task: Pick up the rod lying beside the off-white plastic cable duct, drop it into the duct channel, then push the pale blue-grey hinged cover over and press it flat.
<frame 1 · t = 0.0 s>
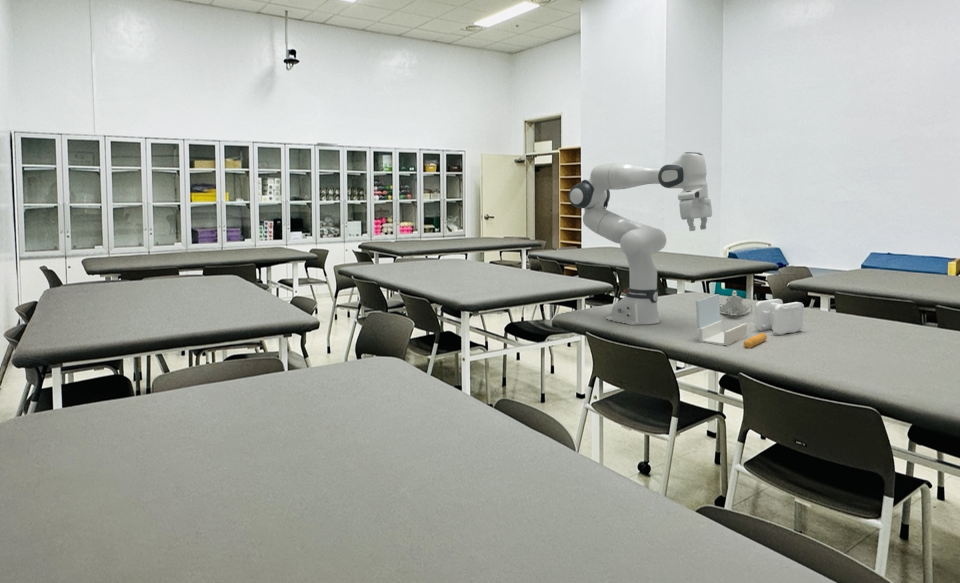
hand: (697, 230, 245), 39 cm above the table, tool pointing down, fingers open, 8 cm apart
duct: (723, 339, 233), on the table
skeletal model: (733, 315, 276), on the table
rod: (755, 344, 225), on the table
cable organizer: (778, 332, 243), on the table
cover: (708, 310, 235), point 10 cm above the table, hinge at 95.0°
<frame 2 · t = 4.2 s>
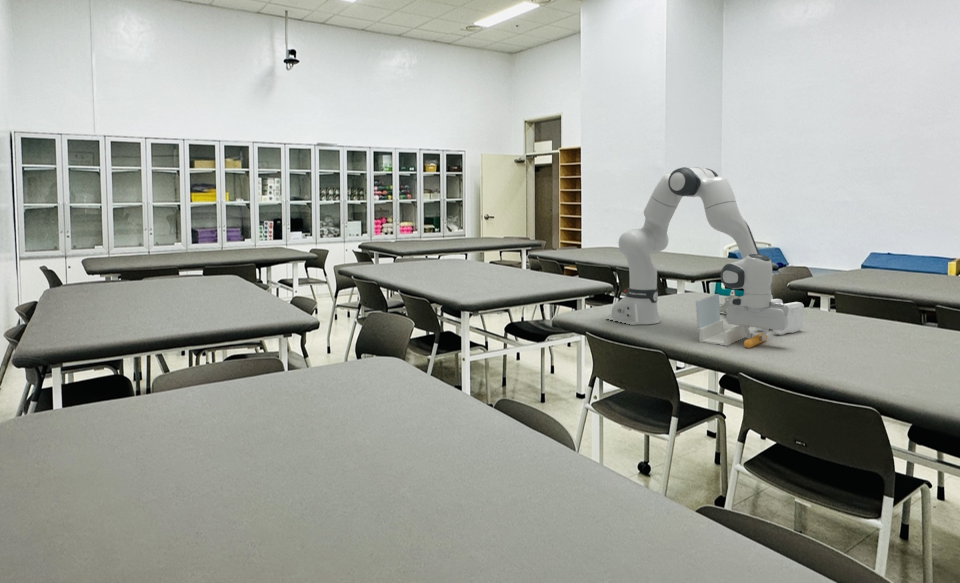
hand: (755, 339, 225), 2 cm above the table, tool pointing down, fingers closed on rod, 3 cm apart
rod: (755, 344, 225), on the table, touching gripper
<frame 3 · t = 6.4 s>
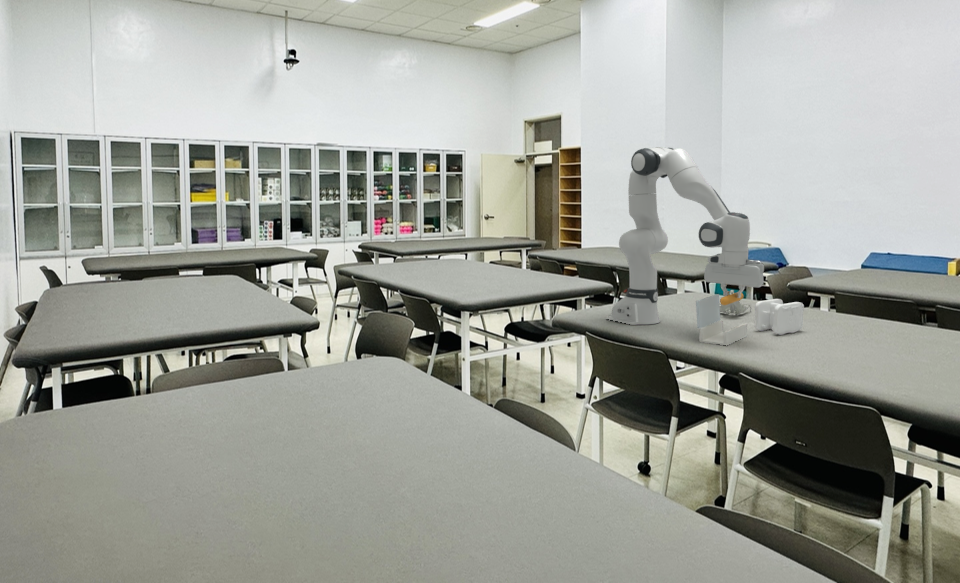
hand: (732, 296, 229), 16 cm above the table, tool pointing down, fingers closed on rod, 3 cm apart
rod: (731, 302, 229), point 14 cm above the table, touching gripper
everything else where it was.
when the fingers open (7 cm above the table, at t = 8.7 s): rod drops 4 cm, resting on duct.
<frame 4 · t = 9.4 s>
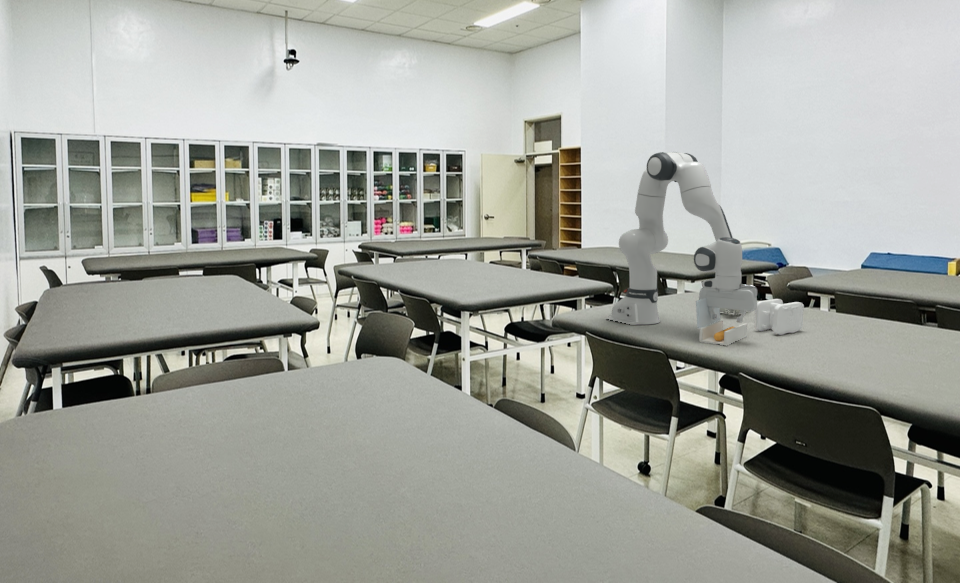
hand: (726, 320, 231), 7 cm above the table, tool pointing down, fingers open, 8 cm apart
rod: (725, 337, 232), point 1 cm above the table, touching duct
cover: (708, 310, 235), point 10 cm above the table, hinge at 95.0°, touching gripper
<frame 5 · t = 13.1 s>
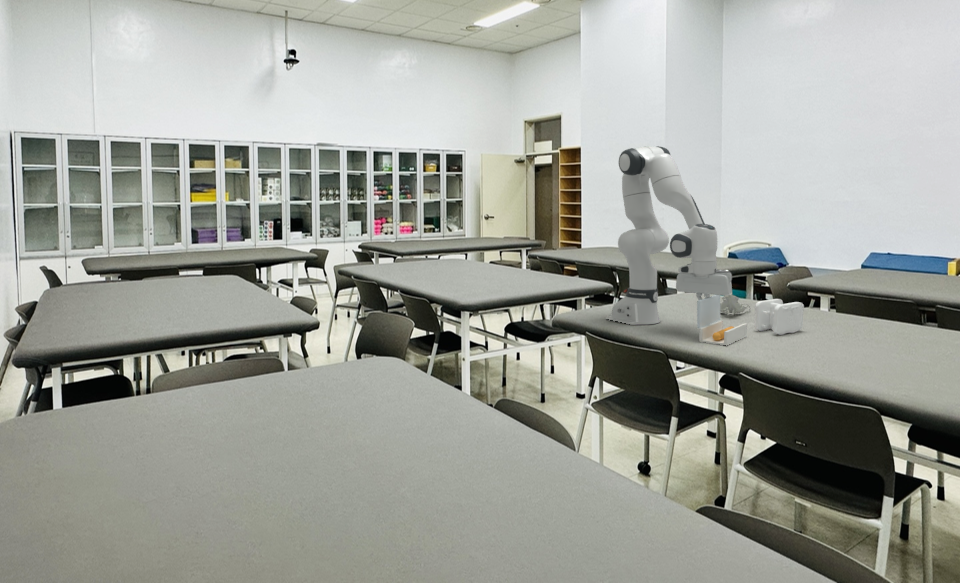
hand: (702, 305, 236), 12 cm above the table, tool pointing down, fingers closed
rod: (725, 337, 232), point 1 cm above the table, tilted 23°, touching duct
cover: (709, 310, 235), point 10 cm above the table, hinge at 92.2°, touching gripper
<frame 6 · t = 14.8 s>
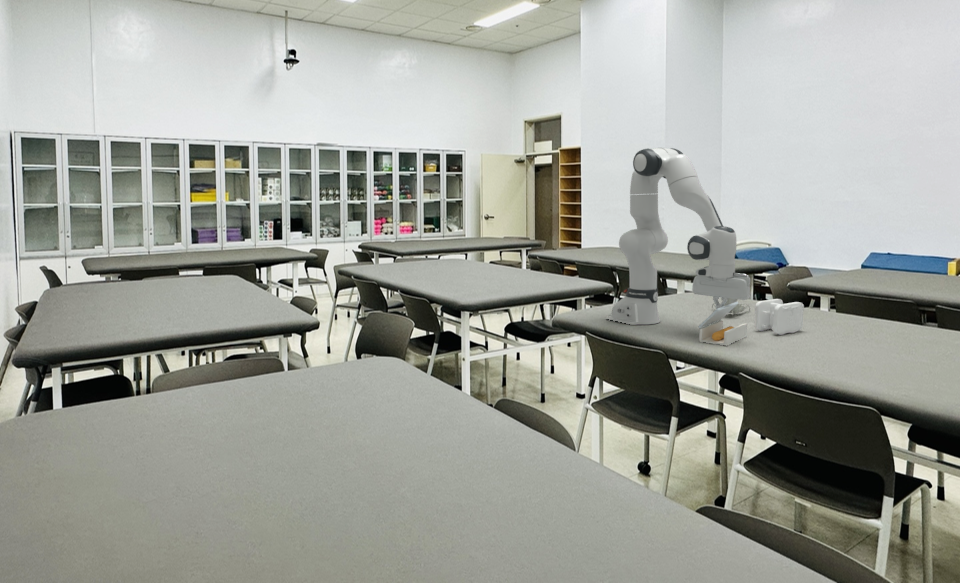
hand: (719, 309, 232), 11 cm above the table, tool pointing down, fingers closed
rod: (725, 337, 232), point 1 cm above the table, tilted 32°, touching duct
cover: (718, 314, 233), point 9 cm above the table, hinge at 47.4°, touching gripper
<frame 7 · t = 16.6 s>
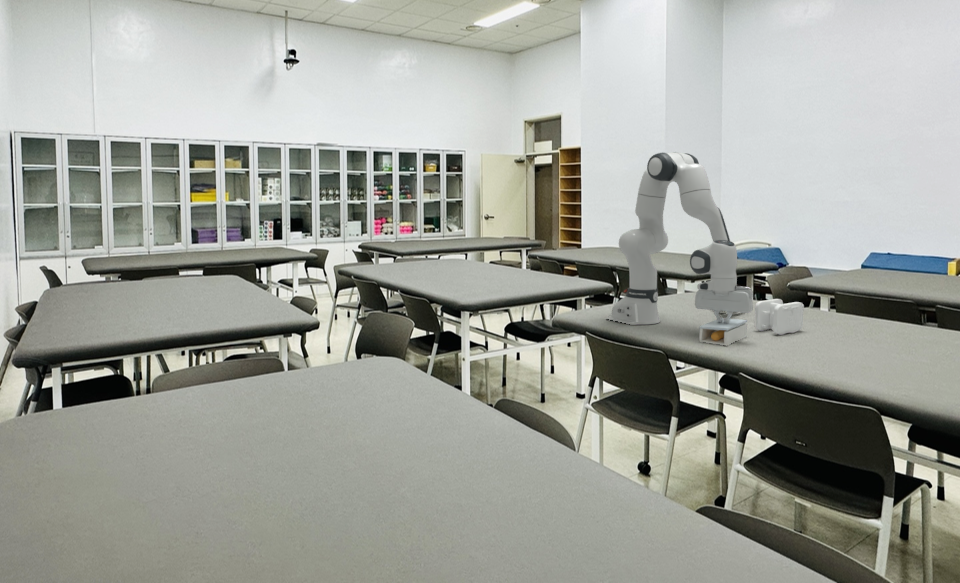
hand: (723, 322, 232), 6 cm above the table, tool pointing down, fingers closed, pressing on cover
rod: (725, 336, 232), point 1 cm above the table, tilted 41°, touching duct
cover: (723, 324, 232), point 6 cm above the table, hinge at 3.1°, touching gripper
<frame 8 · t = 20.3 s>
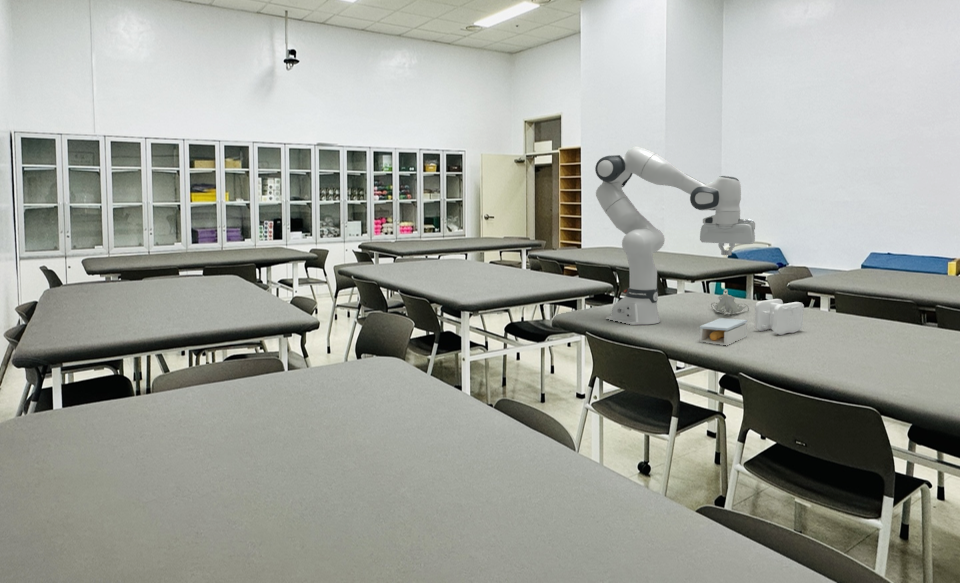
hand: (726, 255, 245), 29 cm above the table, tool pointing down, fingers closed
rod: (725, 335, 232), point 2 cm above the table, tilted 61°, touching duct
cover: (723, 324, 232), point 6 cm above the table, hinge at 2.8°
at the end: cover at +3° (first picture: +95°); rod inside the target area on the duct (0.7 cm from its centre), point 1.6 cm above the duct's base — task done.
